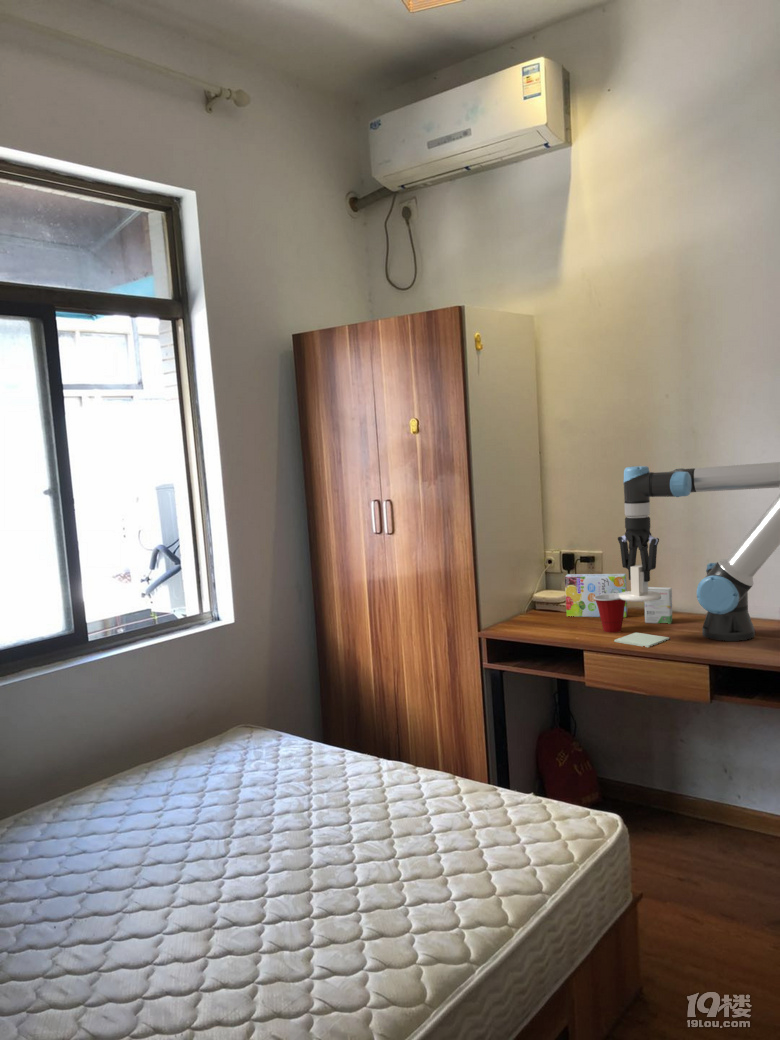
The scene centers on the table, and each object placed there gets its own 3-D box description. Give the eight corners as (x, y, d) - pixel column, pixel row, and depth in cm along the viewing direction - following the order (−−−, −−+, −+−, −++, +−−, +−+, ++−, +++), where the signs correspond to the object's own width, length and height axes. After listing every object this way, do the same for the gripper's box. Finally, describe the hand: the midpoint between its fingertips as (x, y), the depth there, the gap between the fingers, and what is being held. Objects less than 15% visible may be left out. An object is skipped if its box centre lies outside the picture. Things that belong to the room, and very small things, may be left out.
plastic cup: (600, 625, 278) (599, 591, 277) (632, 627, 272) (631, 592, 271) (590, 633, 269) (589, 597, 268) (623, 635, 263) (622, 598, 262)
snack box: (628, 614, 293) (626, 573, 291) (626, 618, 287) (625, 575, 286) (568, 613, 300) (566, 573, 299) (565, 617, 295) (564, 575, 294)
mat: (669, 639, 255) (669, 637, 255) (648, 647, 247) (648, 645, 247) (635, 634, 264) (635, 632, 264) (614, 641, 256) (614, 639, 256)
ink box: (644, 623, 278) (643, 589, 277) (647, 619, 283) (646, 586, 282) (671, 624, 274) (669, 589, 273) (673, 620, 279) (672, 586, 278)
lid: (668, 596, 254) (668, 564, 253) (646, 603, 245) (645, 570, 244) (633, 592, 263) (632, 561, 262) (610, 598, 255) (609, 567, 254)
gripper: (667, 515, 248) (669, 591, 250) (621, 514, 260) (624, 586, 262) (653, 518, 243) (656, 595, 246) (608, 516, 255) (610, 590, 258)
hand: (639, 591), depth 254 cm, fingers closed on lid, 3 cm apart
